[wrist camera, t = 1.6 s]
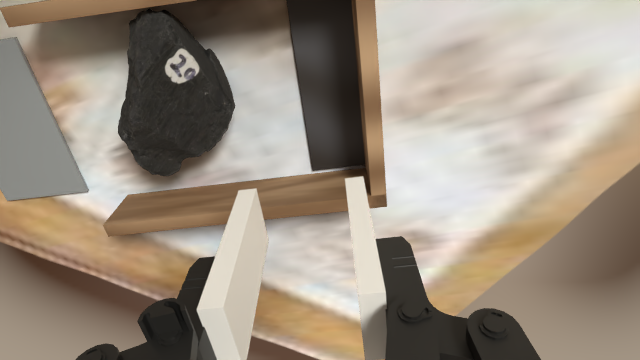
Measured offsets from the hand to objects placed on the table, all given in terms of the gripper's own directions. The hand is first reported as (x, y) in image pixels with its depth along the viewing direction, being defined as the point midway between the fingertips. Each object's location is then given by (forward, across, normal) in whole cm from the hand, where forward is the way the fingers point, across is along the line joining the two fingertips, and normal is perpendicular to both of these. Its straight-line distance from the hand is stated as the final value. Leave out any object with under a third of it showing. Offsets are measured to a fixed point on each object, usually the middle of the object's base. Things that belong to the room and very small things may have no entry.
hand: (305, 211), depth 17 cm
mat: (+19, -26, 0) cm, 32 cm away
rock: (+18, -15, 0) cm, 24 cm away
